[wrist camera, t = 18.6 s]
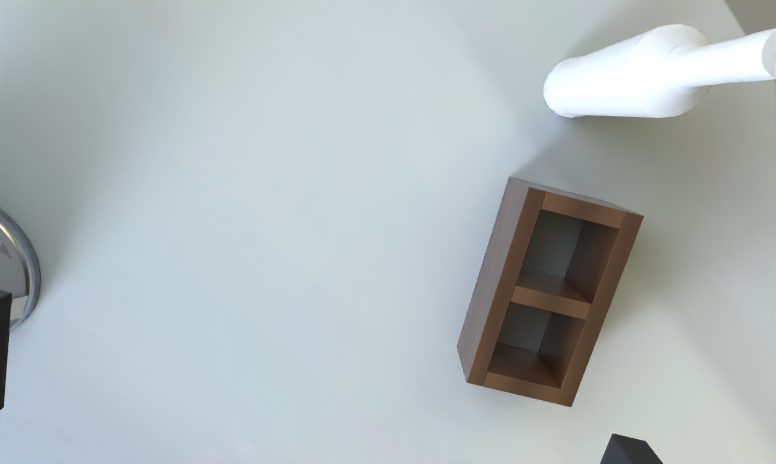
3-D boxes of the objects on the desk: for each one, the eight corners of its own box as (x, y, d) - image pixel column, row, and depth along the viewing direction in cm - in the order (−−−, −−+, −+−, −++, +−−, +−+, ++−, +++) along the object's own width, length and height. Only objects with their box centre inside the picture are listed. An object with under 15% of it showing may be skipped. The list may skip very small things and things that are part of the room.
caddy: (456, 346, 50) (466, 382, 43) (509, 176, 46) (529, 186, 39) (547, 368, 50) (571, 407, 43) (607, 201, 46) (644, 216, 39)
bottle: (593, 119, 44) (833, 121, 20) (537, 115, 44) (709, 113, 20) (602, 60, 43) (869, -14, 19) (545, 56, 43) (738, -23, 19)
